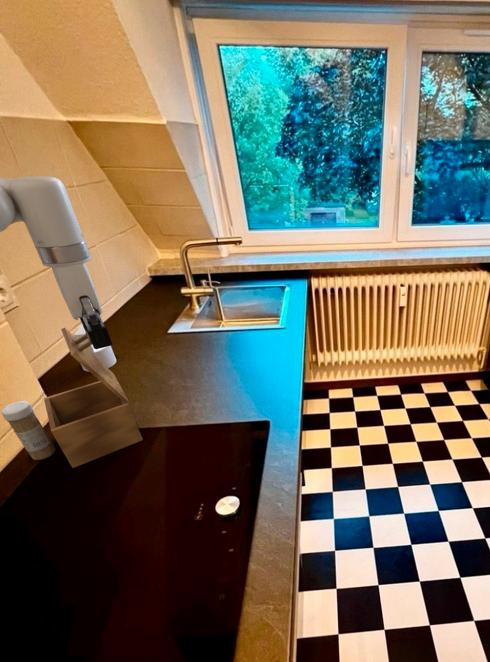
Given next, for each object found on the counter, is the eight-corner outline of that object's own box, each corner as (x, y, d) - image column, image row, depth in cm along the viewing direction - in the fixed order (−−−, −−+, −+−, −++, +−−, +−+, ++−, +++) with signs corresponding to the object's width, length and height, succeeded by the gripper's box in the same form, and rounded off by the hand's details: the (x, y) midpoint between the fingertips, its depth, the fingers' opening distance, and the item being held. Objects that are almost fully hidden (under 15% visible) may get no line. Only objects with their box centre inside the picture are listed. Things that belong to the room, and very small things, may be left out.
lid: (71, 355, 71) (96, 339, 73) (60, 329, 81) (83, 315, 82) (125, 404, 81) (146, 389, 83) (110, 376, 91) (130, 363, 92)
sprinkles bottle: (56, 446, 87) (28, 397, 79) (59, 457, 84) (29, 407, 76) (31, 455, 84) (-1, 405, 77) (33, 466, 81) (0, 416, 74)
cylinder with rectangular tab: (87, 359, 120) (71, 324, 114) (119, 355, 122) (105, 320, 116) (78, 373, 113) (61, 337, 107) (113, 369, 115) (97, 332, 109)
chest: (74, 471, 80) (51, 431, 74) (64, 435, 90) (43, 397, 84) (144, 443, 87) (128, 404, 82) (128, 413, 97) (113, 376, 91)
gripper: (35, 247, 74) (71, 329, 83) (44, 267, 63) (84, 359, 72) (80, 242, 78) (110, 320, 87) (97, 259, 67) (129, 348, 76)
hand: (98, 338), depth 79 cm, fingers open, 9 cm apart
